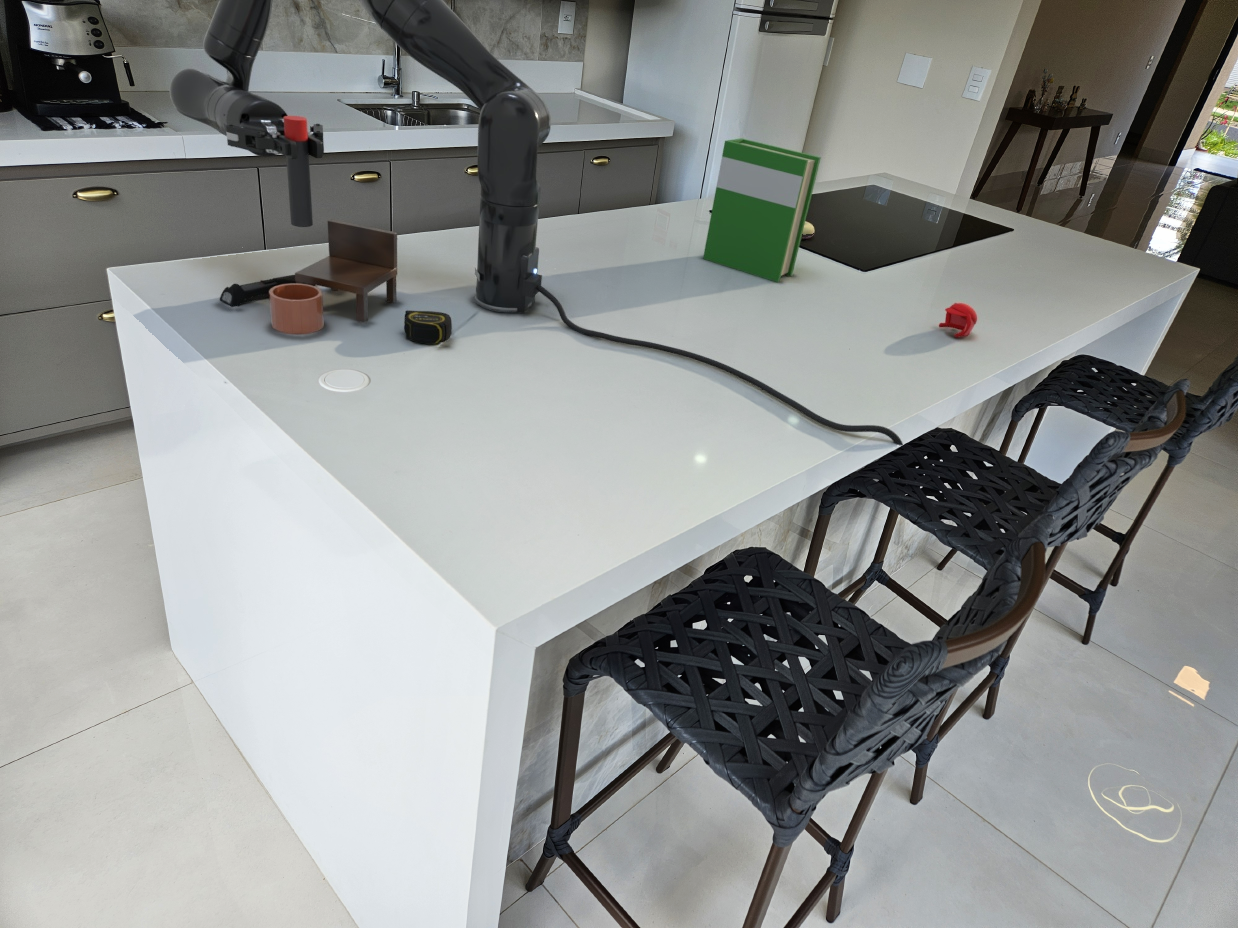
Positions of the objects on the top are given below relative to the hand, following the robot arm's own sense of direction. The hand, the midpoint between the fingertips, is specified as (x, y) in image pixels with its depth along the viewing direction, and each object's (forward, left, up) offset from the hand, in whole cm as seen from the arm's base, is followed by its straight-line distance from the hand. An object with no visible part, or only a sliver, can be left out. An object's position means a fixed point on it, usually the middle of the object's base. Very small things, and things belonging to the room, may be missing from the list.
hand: (306, 150), depth 108 cm
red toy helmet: (-97, -58, -25) cm, 116 cm away
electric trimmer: (+13, -8, -25) cm, 29 cm away
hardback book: (-56, -75, -25) cm, 97 cm away
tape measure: (-14, -6, -25) cm, 30 cm away
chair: (+1, -11, -25) cm, 27 cm away
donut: (-64, -110, -25) cm, 130 cm away
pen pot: (+3, 0, -25) cm, 25 cm away
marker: (+2, -2, -10) cm, 11 cm away
